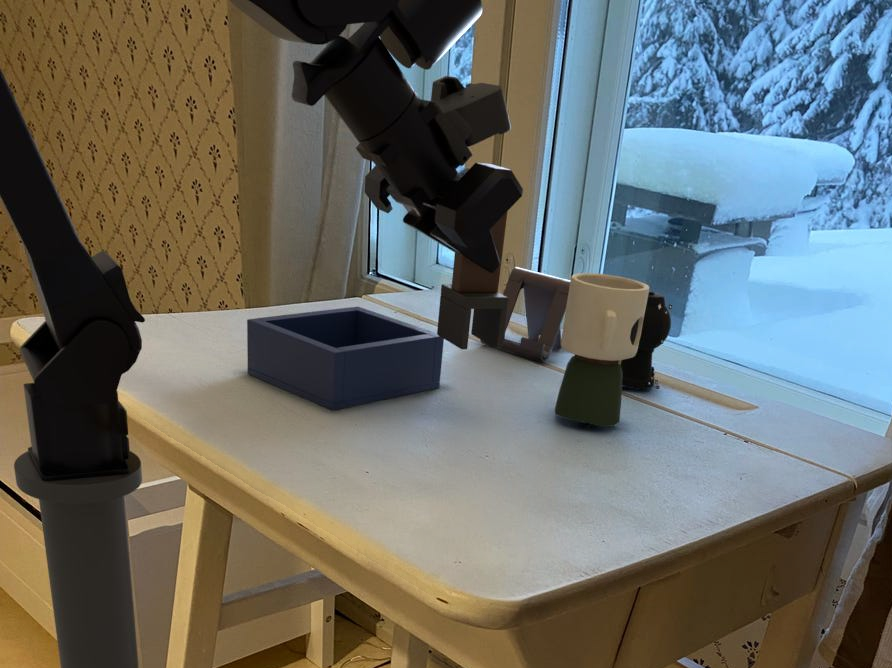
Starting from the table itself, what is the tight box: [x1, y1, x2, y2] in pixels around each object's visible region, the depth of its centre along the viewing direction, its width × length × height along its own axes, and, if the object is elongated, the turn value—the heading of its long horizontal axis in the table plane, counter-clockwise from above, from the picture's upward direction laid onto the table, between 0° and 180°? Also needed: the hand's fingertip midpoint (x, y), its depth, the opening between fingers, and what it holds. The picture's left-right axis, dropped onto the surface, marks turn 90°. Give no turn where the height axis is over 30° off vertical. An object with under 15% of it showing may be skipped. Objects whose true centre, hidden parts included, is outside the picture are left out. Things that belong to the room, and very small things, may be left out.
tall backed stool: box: [436, 210, 509, 350], centre depth 85 cm, size 4×5×12 cm
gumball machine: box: [621, 290, 673, 390], centre depth 103 cm, size 7×6×10 cm
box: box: [246, 306, 445, 411], centre depth 94 cm, size 14×12×5 cm
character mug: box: [554, 272, 650, 428], centre depth 89 cm, size 11×7×13 cm, turn 179°
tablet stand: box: [479, 266, 571, 363], centre depth 112 cm, size 9×8×8 cm
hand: (490, 266), depth 85 cm, fingers closed on tall backed stool
